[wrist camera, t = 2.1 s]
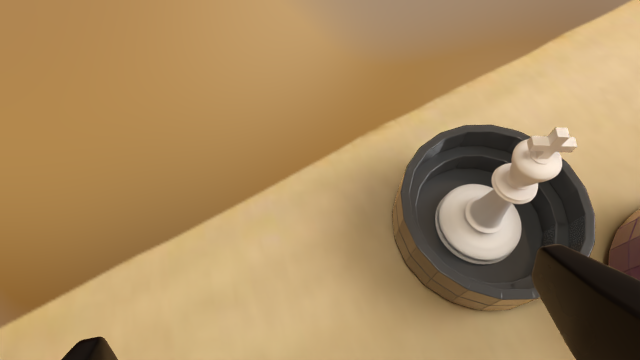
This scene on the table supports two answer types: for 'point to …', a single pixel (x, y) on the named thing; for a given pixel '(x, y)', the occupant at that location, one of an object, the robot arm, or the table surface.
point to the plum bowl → (627, 247)
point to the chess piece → (499, 201)
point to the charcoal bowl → (536, 215)
